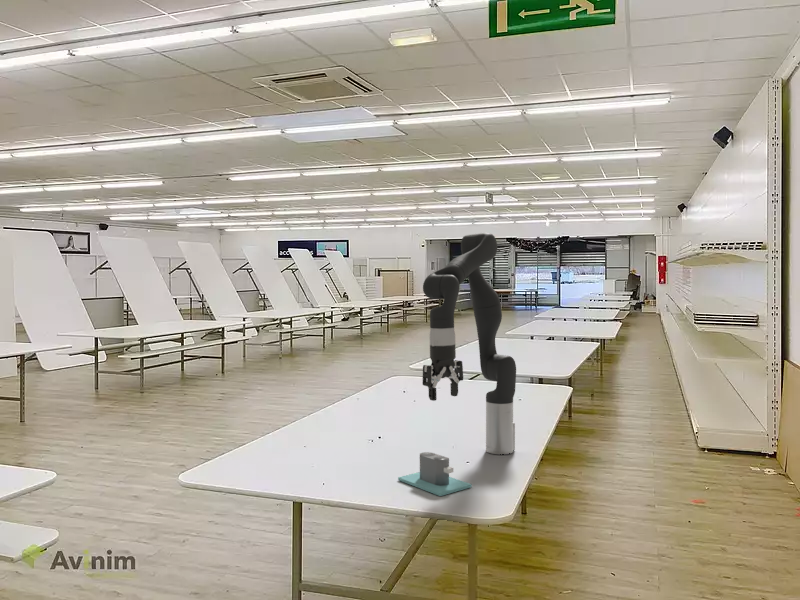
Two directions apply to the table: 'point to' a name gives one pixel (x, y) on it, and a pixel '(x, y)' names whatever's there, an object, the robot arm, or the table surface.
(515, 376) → the robot arm
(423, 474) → the plug block
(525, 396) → the table surface
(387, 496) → the table surface
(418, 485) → the mat
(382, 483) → the table surface
